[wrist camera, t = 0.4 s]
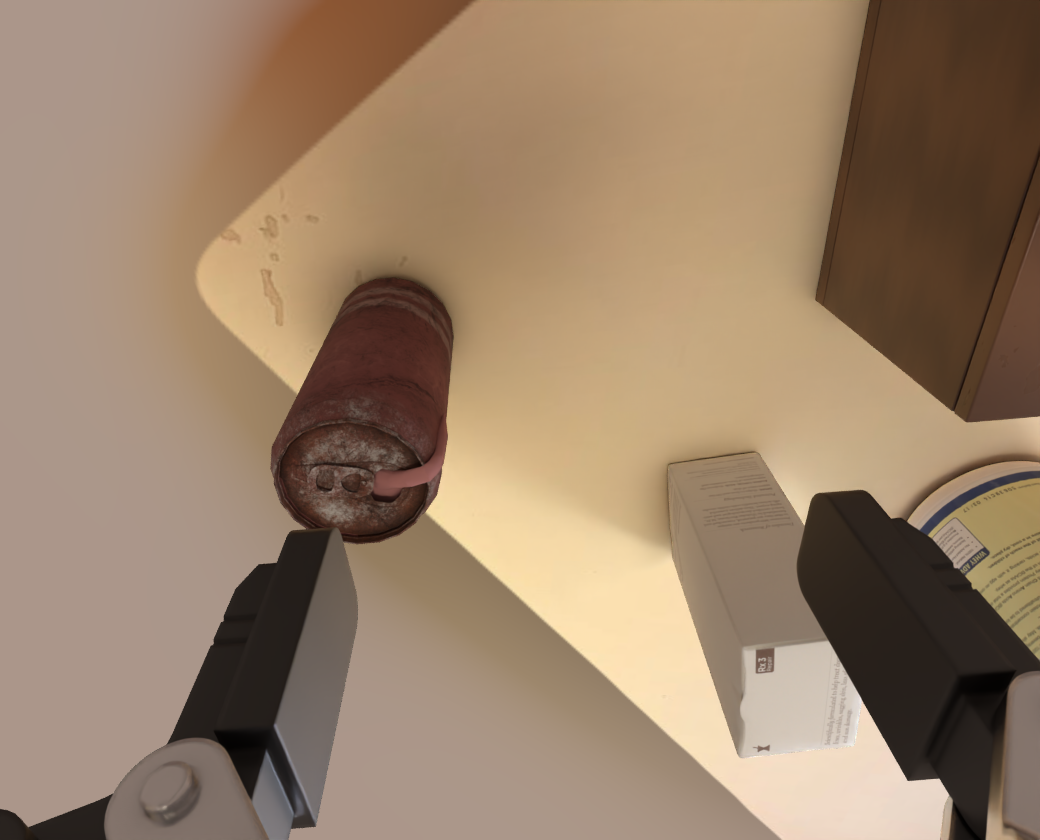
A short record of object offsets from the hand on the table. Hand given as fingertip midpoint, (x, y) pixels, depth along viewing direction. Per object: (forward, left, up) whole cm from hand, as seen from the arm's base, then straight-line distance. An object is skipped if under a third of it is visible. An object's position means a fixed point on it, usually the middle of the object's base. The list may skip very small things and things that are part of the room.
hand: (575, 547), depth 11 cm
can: (+6, -7, -24) cm, 26 cm away
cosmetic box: (+20, +11, -24) cm, 33 cm away
